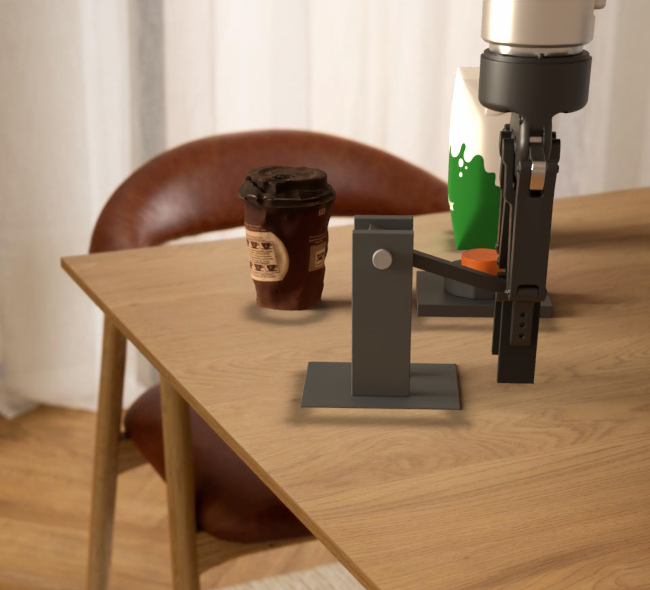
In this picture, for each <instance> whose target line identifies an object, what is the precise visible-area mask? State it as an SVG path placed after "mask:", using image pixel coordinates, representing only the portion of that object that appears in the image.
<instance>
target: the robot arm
mask: <svg viewBox="0 0 650 590" xmlns="http://www.w3.org/2000/svg"><path fill="white" fill-rule="evenodd" d="M481 5H482V7H481V22H480V23H481V25H480V38H481V39H482V40H483V41H484V42H485V43H487V44H488V47H487V48H485V49H484V50H483V52H482V53H481V54H480V56H479V58H480V59H479V67H480V73H479V90H478V99H479V102H480V104H481V105H482V106H484V107H485V108H487V109H490V110H493V111H497V112H502V113H508V112H511V119H510V124H505V125H504V128H503V130H502V131H500V136H499V153H500V157H501V163H500V174H499V181H500V188H501V193H500V208H499V222H498V237H497V243H496V244H495V250H496V252H497V254H499V256H498V258H497V265H498V269H504V272H497V277H500V278H503V279H506V289H505V290H504V292H495V307H494V317H493V322H492V337H491V356H497V367H496V383H497V384H516V385H517V384H521V385H522V384H523V385H529V384H531V385H534V384H535V375H536V374H535V373H536V364H537V363H536V362H537V351H538V341H539V339H538V338H539V328H540V319H541V318H540V307H541V301H544V300H545V299H546V296H547V291H548V289H546V288H547V280H548V270H549V269H548V267H549V256H550V246H551V243H550V242H551V233H552V222H553V212H554V211H553V210H554V198H555V190H556V182H557V176H558V174H559V172H560V165H559V162H560V159H561V145H562V142H561V138H557V131H553V118H554V117H555V116H556V115H559V114H572V113H575V112H578V111H580V110H582V109H584V108H585V107H586V106H587V104H588V102H589V93H590V85H591V84H590V83H591V73H592V63H593V56H592V55H591V54H590V51H588V50H587V49H585V48H584V46H586V45H588V44H590V43H591V42H592V41H593V40H594V36H595V35H594V34H595V26H596V25H595V24H596V15H595V14H594V12H595V11H596V10H603V9H605V7H606V6H607V0H482V4H481Z"/></svg>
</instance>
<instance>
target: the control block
mask: <svg viewBox="0 0 650 590" xmlns="http://www.w3.org/2000/svg"><path fill="white" fill-rule="evenodd" d="M452 262H454V263H457V264H460V265H461V259H457V260H453V261H452ZM546 289H547V287H546ZM415 302H416V317H417V318H419V317H420V318H423V317H425V318H426V317H427V318H494V307H495V293H492V292H489V291H486V290H483V289H480V288H477V287H474V286H471V285H467V284H464V283H461V282H458V281H455V280H452V279H449V278H446V277H443V276H440V275H437V274H434V273H431V272H427V271H424V270H416V271H415ZM553 308H554V306H553V304H552V300H551V297H550V295H549V292H548V289H547V296H546V299H545V300H544V301H541V307H540V318H539V319H552V318H553Z"/></svg>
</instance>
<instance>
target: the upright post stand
mask: <svg viewBox="0 0 650 590" xmlns="http://www.w3.org/2000/svg"><path fill="white" fill-rule="evenodd" d="M370 224H374V225H377V226H380V227H383V228H386V229H389V230H368V229H369V226H370ZM414 231H415V230H414V215H411V214H410V215H409V214H408V215H399V214H395V215H393V214H392V215H391V214H389V215H387V214H355V215H353V229H352V231H351V361H308V362H307V365H306V366H307V367H306V372H305V377H304V382H303V388H302V394H301V399H300V404H299V408H310V409H311V408H314V409H315V408H318V409H320V408H321V409H323V408H324V409H373V410H374V409H377V410H378V409H380V410H382V409H384V410H434V411H435V410H437V411H440V410H441V411H445V410H446V411H447V410H448V411H450V410H451V411H461V400H460V390H459V381H458V380H459V379H458V373H457V372H458V371H457V364H456V363H434V362H433V363H430V362H411V353H412V352H411V351H412V350H411V349H412V317H413V315H412V314H413V313H412V312H413V310H412V309H413V276H414V275H413V274H414V267H413V249H414V246H415V245H414V244H415V241H414V240H415V232H414Z"/></svg>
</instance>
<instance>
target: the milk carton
mask: <svg viewBox="0 0 650 590" xmlns="http://www.w3.org/2000/svg"><path fill="white" fill-rule="evenodd" d="M456 69H457V70H456V77H455V83H454V88H453V89H454V90H453V97H452V103H451V112H450V124H449V143H448V144H449V145H448V146H449V147H448V171H447V199H448V207H449V212H450V213H449V214H450V219H451V227H452V231H453V233H452V234H453V237H454V240H455V247H456V250H457V251H467V250H470V249H479V248H483V249H494V250H495V244H496V243H497V237H498V222H499V208H500V193H501V188H500V181H499V174H500V163H501V157H500V153H499V136H500V131H502V130H503V128H504V125H505V124H510V119H511V112H508V113H502V112H497V111H493V110H490V109H487V108H485V107H484V106H482V105H481V104H480V102H479V99H478V90H479V73H480V66H473V67H472V66H457V68H456Z"/></svg>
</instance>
